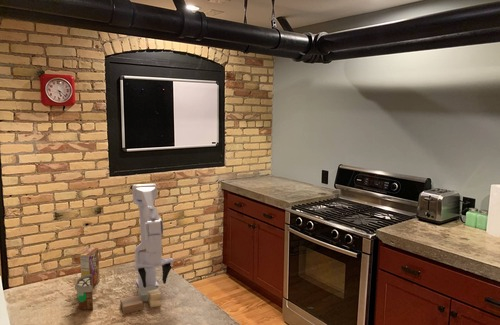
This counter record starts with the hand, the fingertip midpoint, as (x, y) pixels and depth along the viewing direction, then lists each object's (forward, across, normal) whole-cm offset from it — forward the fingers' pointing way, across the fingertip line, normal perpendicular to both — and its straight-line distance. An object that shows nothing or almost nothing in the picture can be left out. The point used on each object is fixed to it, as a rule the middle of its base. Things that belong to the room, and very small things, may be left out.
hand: (154, 284), depth 146 cm
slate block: (+8, 0, +8) cm, 11 cm away
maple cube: (+8, 0, 0) cm, 8 cm away
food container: (+8, -24, +11) cm, 28 cm away
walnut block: (+8, -8, +2) cm, 12 cm away
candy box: (+8, -20, +29) cm, 36 cm away
